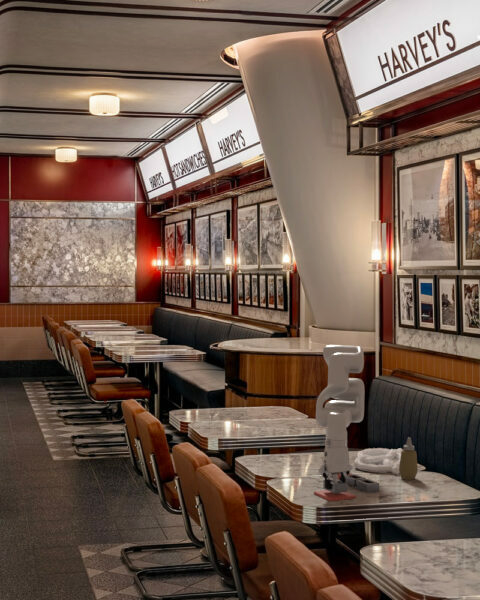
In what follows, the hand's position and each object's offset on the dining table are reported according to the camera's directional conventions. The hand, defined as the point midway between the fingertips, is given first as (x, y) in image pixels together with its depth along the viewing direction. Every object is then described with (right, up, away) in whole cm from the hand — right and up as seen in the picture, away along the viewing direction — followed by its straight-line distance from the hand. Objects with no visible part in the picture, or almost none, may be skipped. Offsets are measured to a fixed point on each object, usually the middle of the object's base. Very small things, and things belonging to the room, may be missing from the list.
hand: (335, 487), depth 351 cm
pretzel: (+27, -3, +55) cm, 61 cm away
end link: (0, -1, 0) cm, 1 cm away
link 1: (+10, -3, +19) cm, 22 cm away
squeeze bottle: (+35, -3, +34) cm, 49 cm away
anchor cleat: (+7, -3, +26) cm, 27 cm away
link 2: (+14, -3, +11) cm, 18 cm away
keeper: (0, -3, 0) cm, 3 cm away
